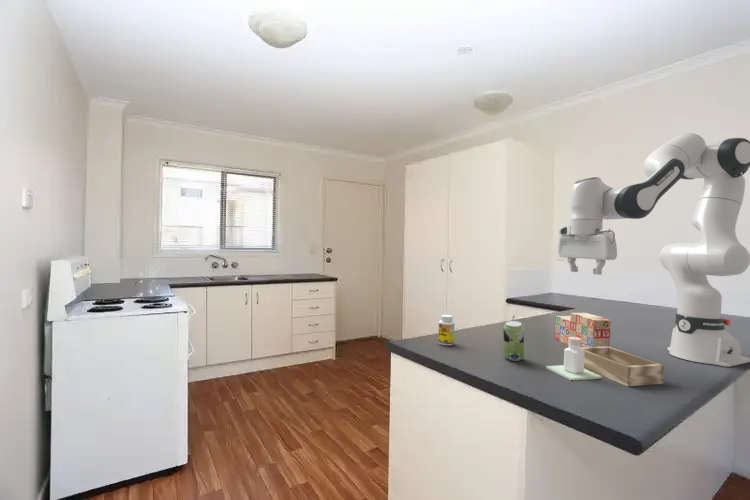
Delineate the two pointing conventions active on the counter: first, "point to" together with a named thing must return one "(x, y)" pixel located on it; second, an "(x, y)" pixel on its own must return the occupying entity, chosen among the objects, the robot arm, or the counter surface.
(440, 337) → the supplement bottle
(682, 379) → the counter surface
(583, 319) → the stack of blocks
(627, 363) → the open wooden box
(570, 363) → the salt shaker
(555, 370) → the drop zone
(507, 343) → the beverage can
